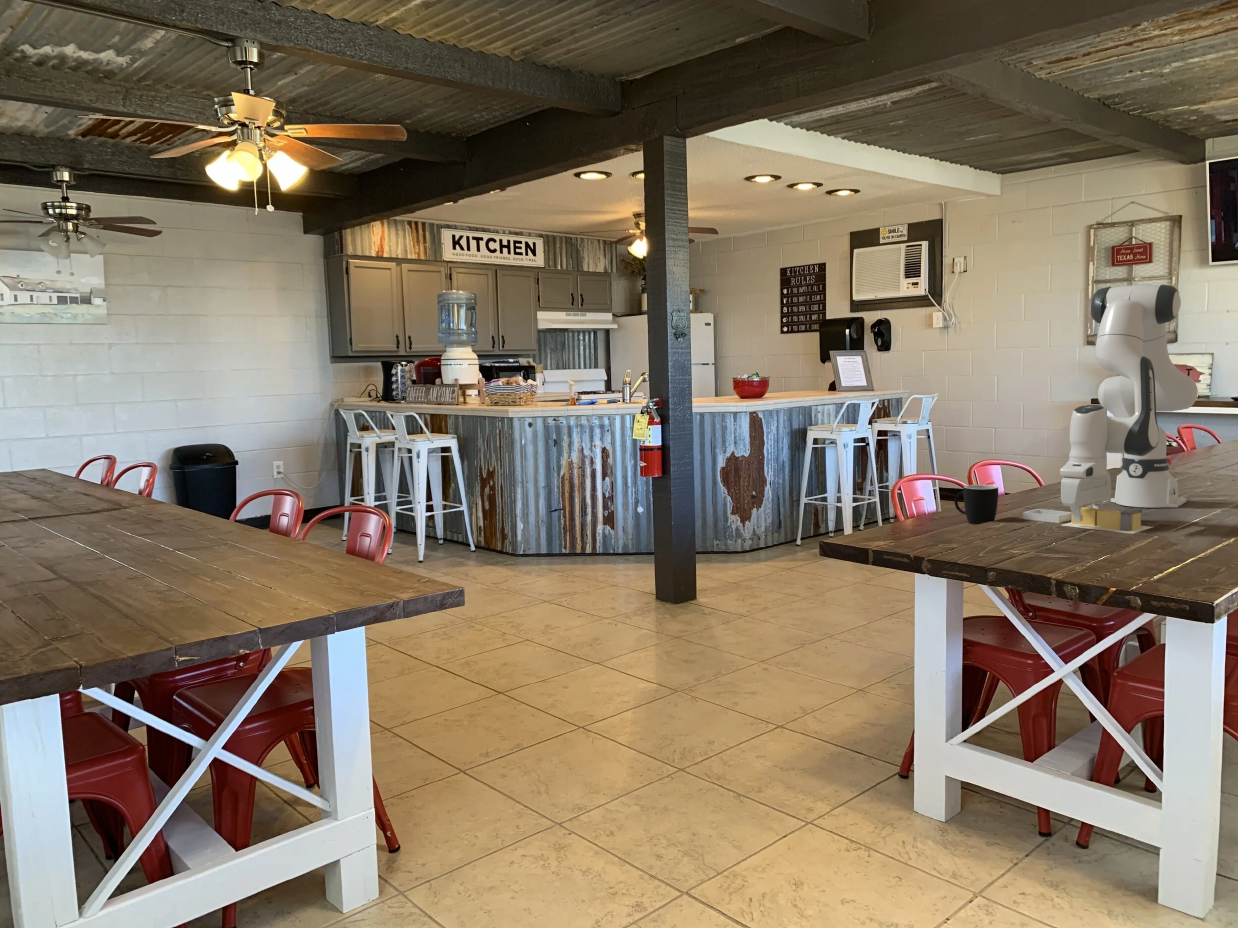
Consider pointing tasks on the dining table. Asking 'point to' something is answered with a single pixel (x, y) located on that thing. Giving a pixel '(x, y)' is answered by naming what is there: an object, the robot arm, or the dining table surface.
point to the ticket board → (1117, 521)
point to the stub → (1087, 516)
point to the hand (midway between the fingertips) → (1086, 519)
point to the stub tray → (1047, 515)
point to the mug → (979, 503)
